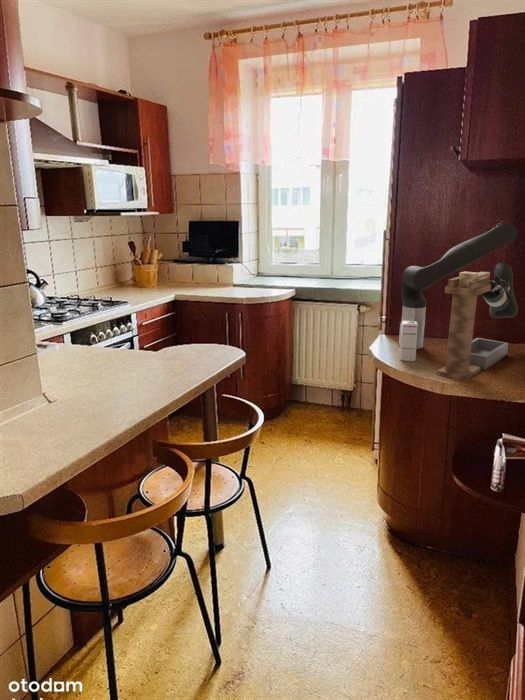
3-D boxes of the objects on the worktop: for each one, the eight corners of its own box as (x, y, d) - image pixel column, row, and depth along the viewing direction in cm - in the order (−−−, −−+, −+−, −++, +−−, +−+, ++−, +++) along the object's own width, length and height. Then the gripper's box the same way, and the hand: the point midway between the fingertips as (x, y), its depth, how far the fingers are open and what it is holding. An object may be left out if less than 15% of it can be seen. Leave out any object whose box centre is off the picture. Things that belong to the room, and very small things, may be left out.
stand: (436, 374, 178) (446, 279, 169) (452, 364, 188) (462, 274, 179) (465, 380, 172) (476, 282, 162) (480, 370, 182) (491, 277, 172)
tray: (452, 363, 190) (453, 350, 189) (475, 349, 207) (477, 337, 206) (484, 370, 182) (486, 356, 181) (506, 355, 199) (508, 342, 198)
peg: (458, 286, 171) (459, 272, 169) (478, 279, 184) (479, 267, 182) (471, 287, 168) (473, 274, 166) (491, 280, 181) (492, 268, 179)
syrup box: (415, 361, 193) (418, 324, 189) (399, 360, 194) (402, 323, 190) (414, 357, 198) (417, 320, 194) (398, 356, 199) (401, 320, 195)
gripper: (477, 282, 198) (466, 265, 185) (516, 286, 188) (507, 268, 176) (472, 300, 197) (460, 284, 184) (510, 305, 188) (501, 288, 175)
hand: (483, 276), depth 180 cm, fingers open, 8 cm apart
